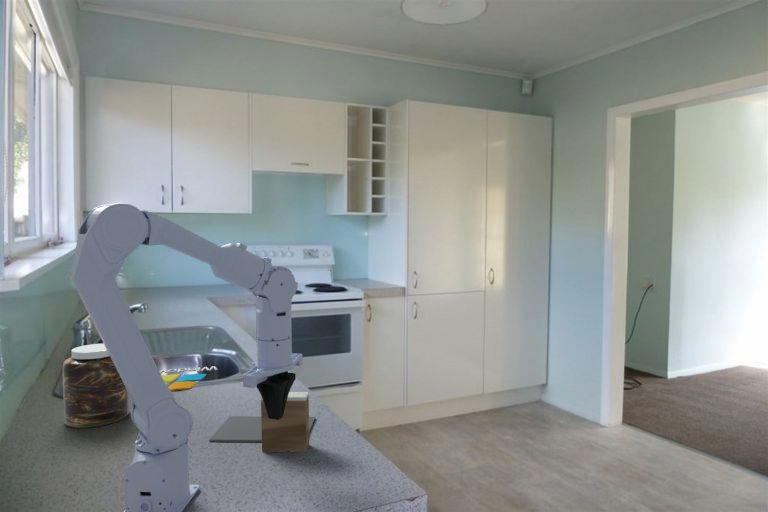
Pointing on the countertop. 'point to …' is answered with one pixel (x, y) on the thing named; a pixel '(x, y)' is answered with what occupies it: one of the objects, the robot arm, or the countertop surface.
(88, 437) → the countertop surface
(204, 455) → the countertop surface
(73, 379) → the jar
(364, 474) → the countertop surface
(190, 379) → the logo
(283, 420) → the wooden block
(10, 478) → the countertop surface
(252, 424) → the mat
